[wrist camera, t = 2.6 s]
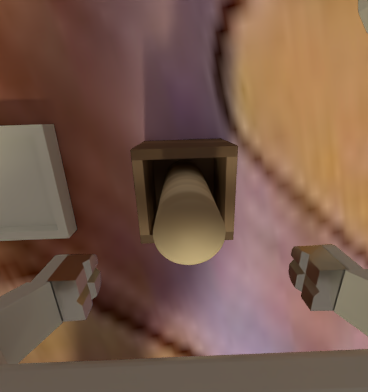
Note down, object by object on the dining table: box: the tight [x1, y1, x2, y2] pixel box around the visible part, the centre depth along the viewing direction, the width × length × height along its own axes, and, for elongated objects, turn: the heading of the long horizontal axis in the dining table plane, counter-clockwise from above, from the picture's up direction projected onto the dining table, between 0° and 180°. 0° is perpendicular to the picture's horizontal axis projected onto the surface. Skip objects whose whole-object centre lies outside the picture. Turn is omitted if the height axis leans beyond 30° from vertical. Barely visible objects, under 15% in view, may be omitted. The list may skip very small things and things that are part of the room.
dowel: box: [153, 160, 226, 265], centre depth 17 cm, size 4×4×12 cm
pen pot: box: [130, 138, 238, 244], centre depth 21 cm, size 8×8×7 cm
